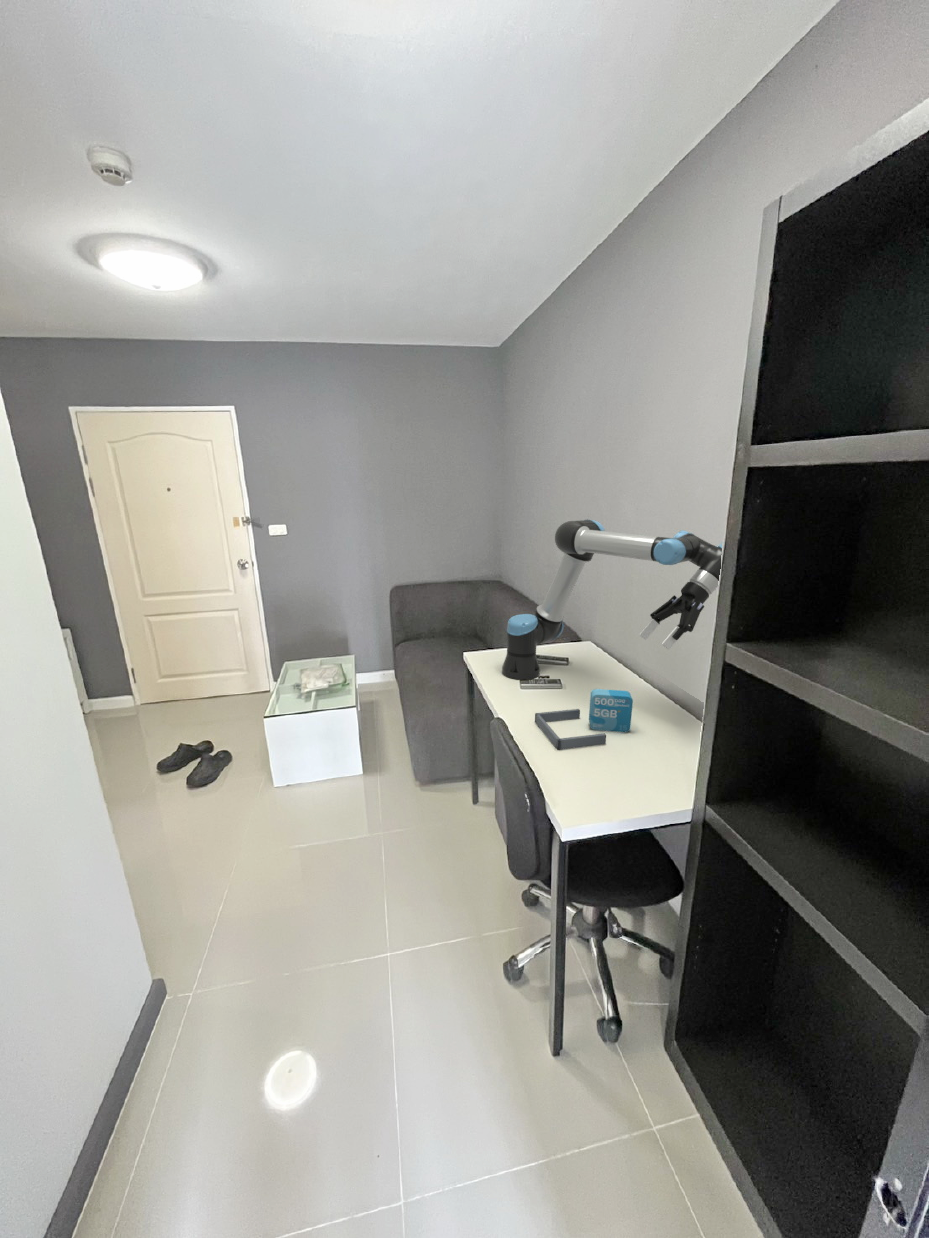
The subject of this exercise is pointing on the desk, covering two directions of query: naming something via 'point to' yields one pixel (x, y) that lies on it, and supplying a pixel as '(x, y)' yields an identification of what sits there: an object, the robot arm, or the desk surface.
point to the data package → (610, 710)
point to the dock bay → (571, 741)
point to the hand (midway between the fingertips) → (653, 641)
